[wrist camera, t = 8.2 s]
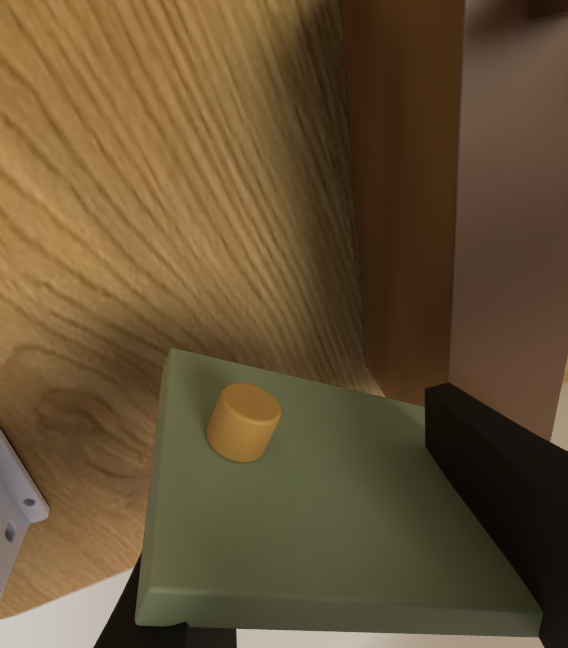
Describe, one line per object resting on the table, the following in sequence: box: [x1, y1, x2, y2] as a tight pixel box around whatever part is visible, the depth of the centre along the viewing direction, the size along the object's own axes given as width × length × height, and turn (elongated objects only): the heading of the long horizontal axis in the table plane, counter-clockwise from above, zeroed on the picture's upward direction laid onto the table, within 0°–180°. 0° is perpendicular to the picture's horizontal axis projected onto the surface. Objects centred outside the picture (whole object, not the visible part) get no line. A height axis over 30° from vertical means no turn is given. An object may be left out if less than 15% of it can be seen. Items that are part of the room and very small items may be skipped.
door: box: [135, 348, 543, 637], centre depth 10 cm, size 12×2×6 cm, turn 68°
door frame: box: [341, 0, 568, 442], centre depth 12 cm, size 16×4×15 cm, turn 9°
